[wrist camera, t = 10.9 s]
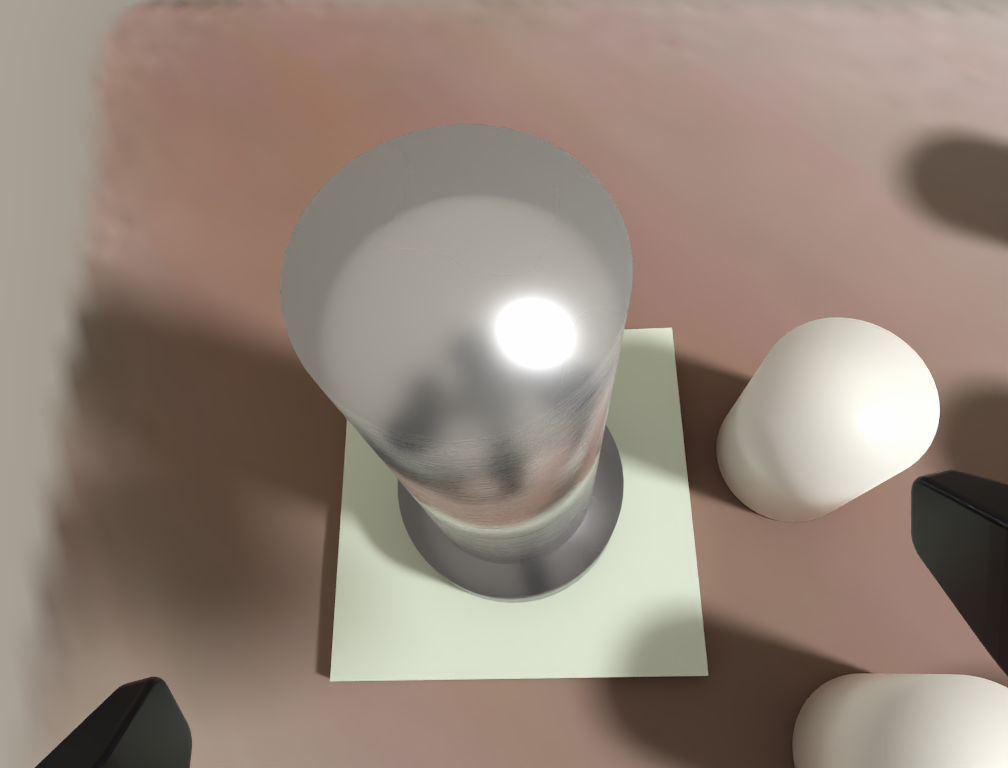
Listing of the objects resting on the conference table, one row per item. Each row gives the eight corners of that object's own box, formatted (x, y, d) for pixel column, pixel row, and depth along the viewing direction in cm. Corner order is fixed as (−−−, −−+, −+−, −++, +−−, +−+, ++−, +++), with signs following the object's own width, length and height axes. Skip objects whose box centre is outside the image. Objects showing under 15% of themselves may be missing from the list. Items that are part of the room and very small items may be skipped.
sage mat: (704, 675, 20) (708, 675, 19) (335, 680, 20) (329, 681, 20) (669, 334, 23) (671, 327, 23) (356, 346, 24) (352, 340, 23)
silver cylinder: (659, 534, 21) (803, 345, 9) (470, 645, 20) (334, 609, 8) (551, 362, 23) (543, 14, 11) (375, 457, 22) (152, 200, 10)
